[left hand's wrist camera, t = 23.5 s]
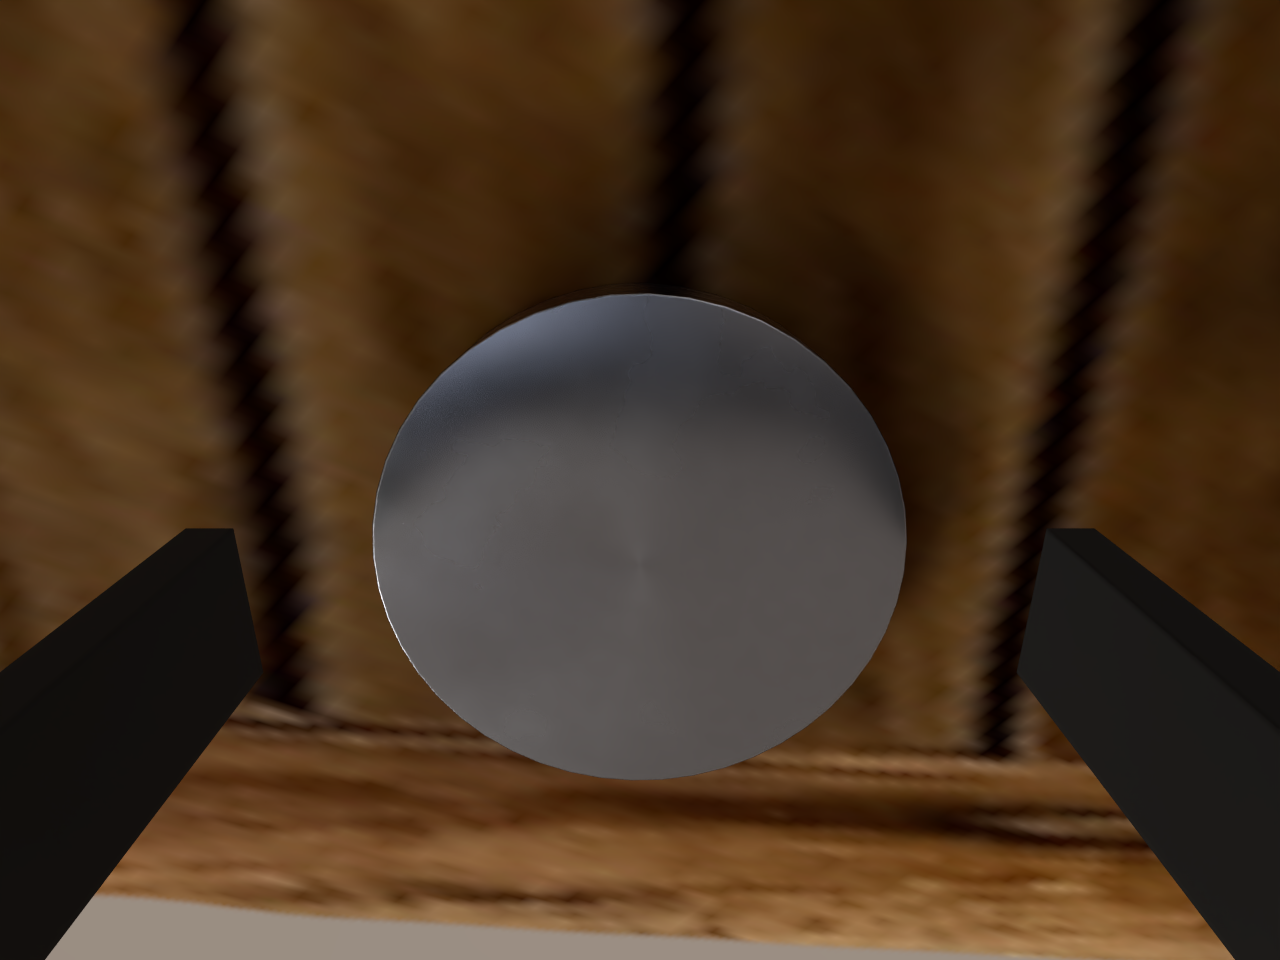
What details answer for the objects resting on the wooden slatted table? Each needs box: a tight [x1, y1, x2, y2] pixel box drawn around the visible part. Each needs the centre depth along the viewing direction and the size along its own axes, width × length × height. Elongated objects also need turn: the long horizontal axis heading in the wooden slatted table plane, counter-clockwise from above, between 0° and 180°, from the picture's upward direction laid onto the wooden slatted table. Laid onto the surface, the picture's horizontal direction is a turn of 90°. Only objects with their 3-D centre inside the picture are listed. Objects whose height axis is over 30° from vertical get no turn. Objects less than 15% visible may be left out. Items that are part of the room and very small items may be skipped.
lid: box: [372, 283, 907, 780], centre depth 17 cm, size 11×11×2 cm
